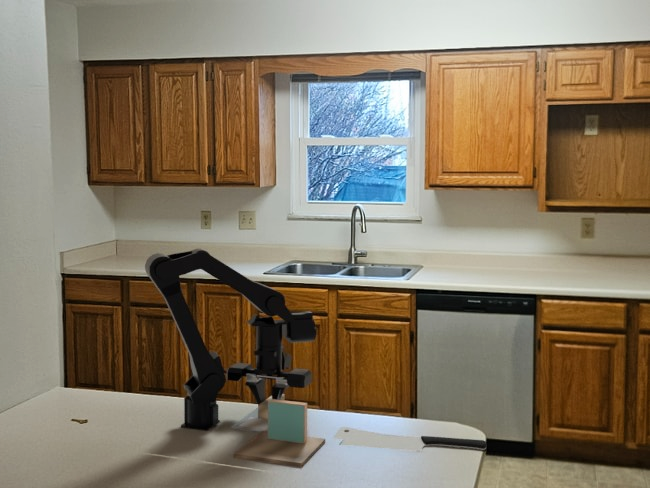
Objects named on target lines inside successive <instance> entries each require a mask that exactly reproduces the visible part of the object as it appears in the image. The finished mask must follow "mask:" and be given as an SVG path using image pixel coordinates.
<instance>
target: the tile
mask: <svg viewBox="0 0 650 488" xmlns="http://www.w3.org/2000/svg"><path fill="white" fill-rule="evenodd" d="M307 437H308V402H301V401H293V400H292V401H291V400H285V401H284V400H276V399H270V400H268V439H272V440H279V441H287V442H294V443H302V444H305V443H306V442H307Z"/></svg>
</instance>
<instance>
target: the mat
mask: <svg viewBox="0 0 650 488" xmlns="http://www.w3.org/2000/svg"><path fill="white" fill-rule="evenodd" d="M250 417H253V418H258V407H256V408H255V409H254V410H252V411H251V412H250V413H248V414H247V415H246V416H244V417H243V418H241V419H239V420H238V421H237V422H235V424H232V426H230V427H229V429H234V430H241V431H242V430H243V431H250V432H256V433H260V432H261V431H256V430H248V429H241V428H239V425H241V424H242V423H243V422H245V421H246V420H247V419H249V418H250ZM266 431H268V430H266Z"/></svg>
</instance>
